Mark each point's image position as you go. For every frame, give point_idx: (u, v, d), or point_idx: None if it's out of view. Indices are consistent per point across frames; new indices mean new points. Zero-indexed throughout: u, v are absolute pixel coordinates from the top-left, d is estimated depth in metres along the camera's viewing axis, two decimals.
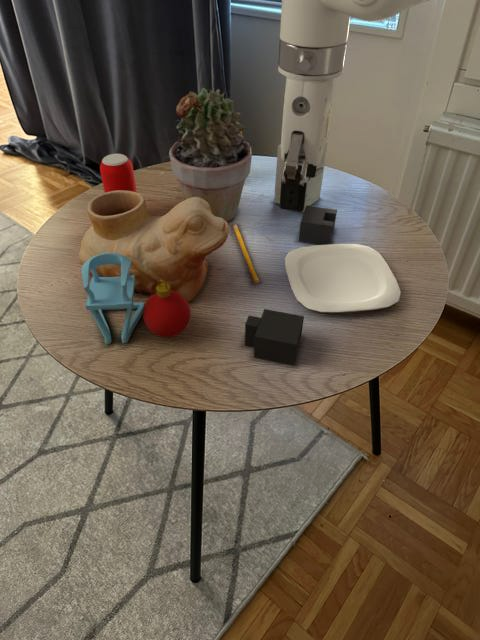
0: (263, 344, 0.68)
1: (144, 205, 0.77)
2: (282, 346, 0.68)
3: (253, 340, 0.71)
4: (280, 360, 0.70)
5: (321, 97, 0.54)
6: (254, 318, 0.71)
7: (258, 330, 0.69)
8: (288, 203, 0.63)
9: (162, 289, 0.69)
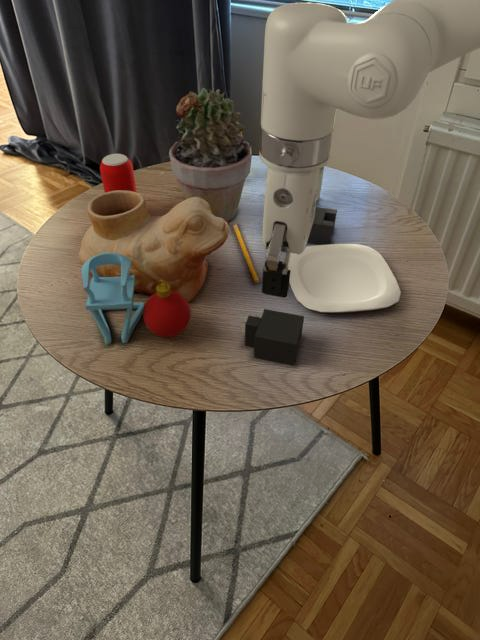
0: (263, 344, 0.68)
1: (144, 205, 0.77)
2: (282, 346, 0.68)
3: (253, 340, 0.71)
4: (280, 360, 0.70)
5: (305, 190, 0.50)
6: (254, 318, 0.71)
7: (258, 330, 0.69)
8: (270, 290, 0.58)
9: (162, 289, 0.69)
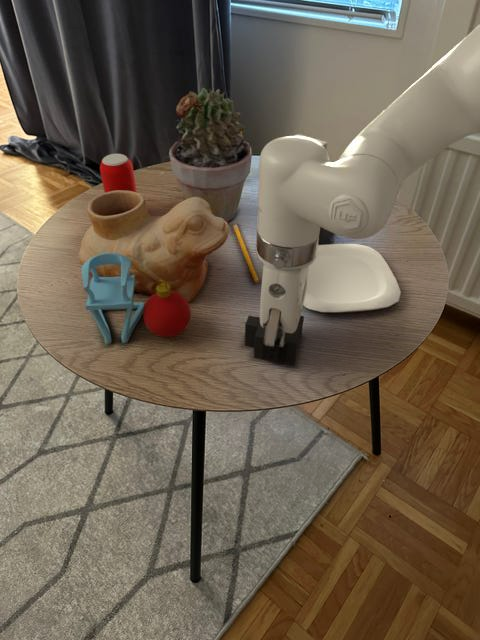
0: None
1: (144, 205, 0.77)
2: None
3: (253, 340, 0.71)
4: None
5: (296, 285, 0.58)
6: (254, 318, 0.71)
7: (258, 330, 0.69)
8: (270, 358, 0.68)
9: (162, 289, 0.69)
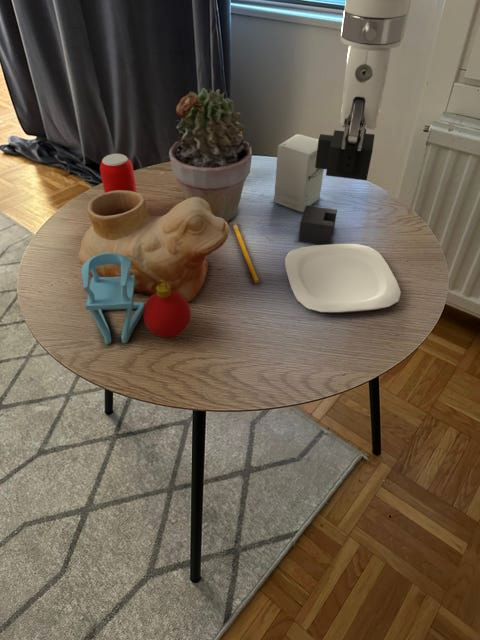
0: (338, 156, 0.70)
1: (144, 205, 0.77)
2: None
3: (324, 159, 0.73)
4: None
5: (383, 64, 0.59)
6: (326, 135, 0.72)
7: (332, 143, 0.70)
8: (345, 168, 0.69)
9: (162, 289, 0.69)
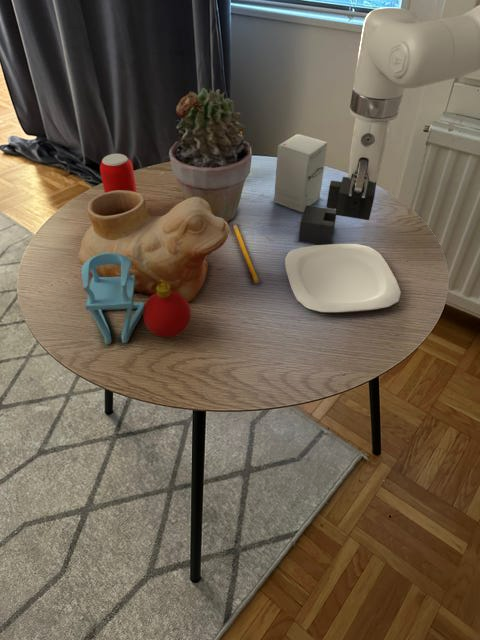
0: (345, 200, 0.84)
1: (144, 205, 0.77)
2: None
3: (334, 201, 0.87)
4: None
5: (383, 134, 0.74)
6: (336, 182, 0.86)
7: (341, 189, 0.84)
8: (351, 210, 0.84)
9: (162, 289, 0.69)
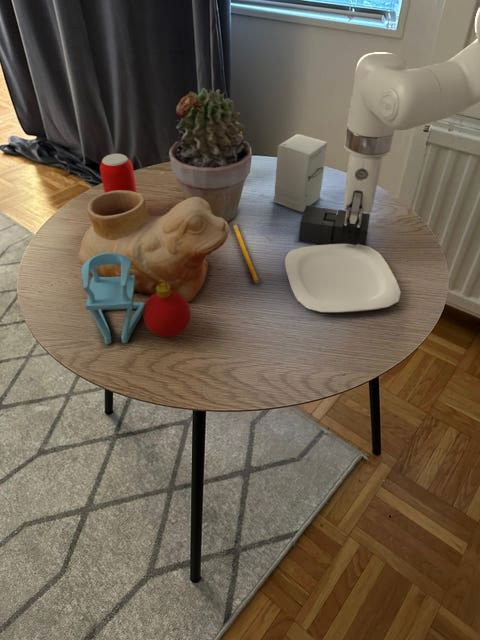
0: (340, 233, 0.89)
1: (144, 205, 0.77)
2: None
3: None
4: None
5: (376, 169, 0.78)
6: (331, 215, 0.91)
7: (336, 222, 0.89)
8: (347, 239, 0.86)
9: (162, 289, 0.69)
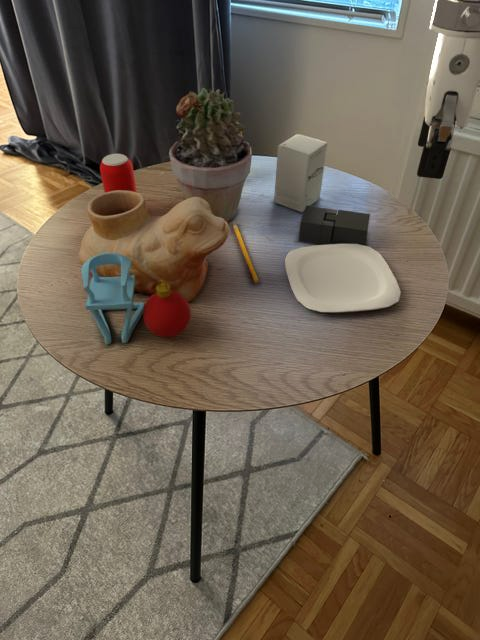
0: (340, 233, 0.89)
1: (144, 205, 0.77)
2: (355, 233, 0.88)
3: None
4: None
5: None
6: (331, 215, 0.91)
7: (336, 222, 0.89)
8: (429, 169, 0.61)
9: (162, 289, 0.69)
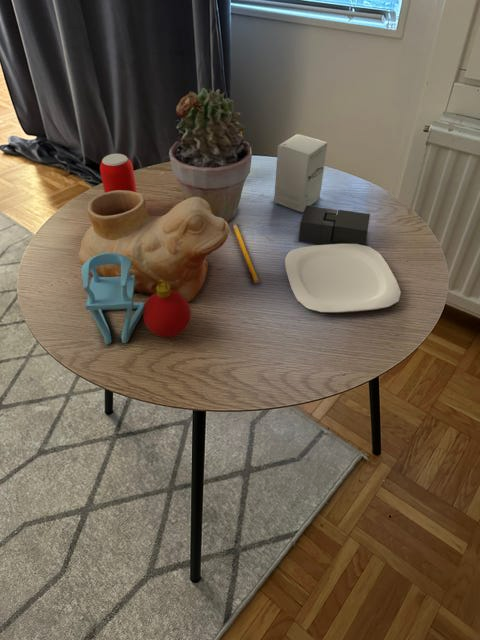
0: (340, 233, 0.89)
1: (144, 205, 0.77)
2: (355, 233, 0.88)
3: None
4: None
5: None
6: (331, 215, 0.91)
7: (336, 222, 0.89)
8: None
9: (162, 289, 0.69)
